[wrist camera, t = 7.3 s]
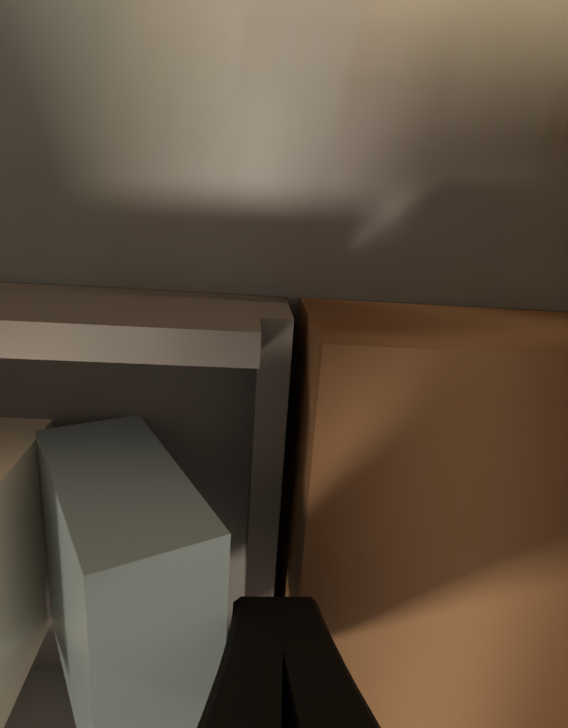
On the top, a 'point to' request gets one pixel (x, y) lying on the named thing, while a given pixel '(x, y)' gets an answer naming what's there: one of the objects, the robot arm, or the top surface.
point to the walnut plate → (434, 507)
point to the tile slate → (131, 576)
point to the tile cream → (20, 557)
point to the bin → (158, 412)
